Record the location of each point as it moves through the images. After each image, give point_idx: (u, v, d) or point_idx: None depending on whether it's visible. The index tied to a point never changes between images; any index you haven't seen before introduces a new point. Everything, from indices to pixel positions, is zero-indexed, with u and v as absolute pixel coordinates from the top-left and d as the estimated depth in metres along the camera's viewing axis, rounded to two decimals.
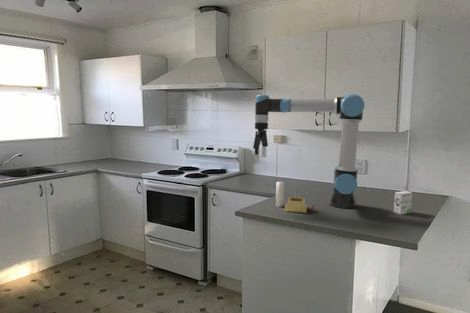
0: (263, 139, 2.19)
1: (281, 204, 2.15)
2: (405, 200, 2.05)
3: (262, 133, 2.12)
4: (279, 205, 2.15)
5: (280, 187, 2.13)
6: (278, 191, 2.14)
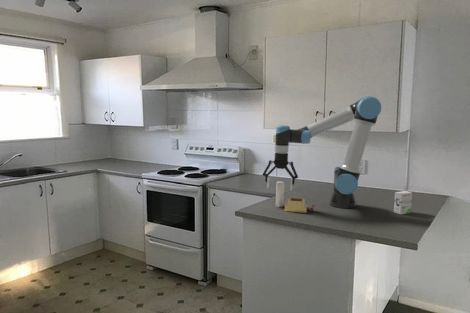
0: None
1: (281, 204, 2.15)
2: (405, 200, 2.05)
3: (277, 163, 2.13)
4: (279, 205, 2.15)
5: (280, 187, 2.13)
6: (278, 191, 2.14)
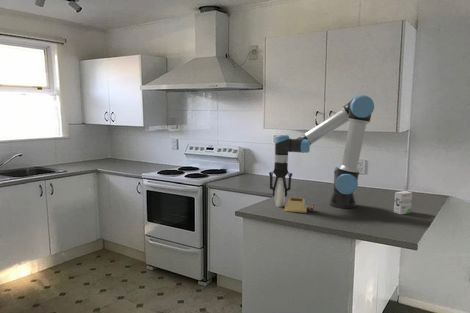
0: (283, 180, 2.14)
1: (281, 204, 2.15)
2: (405, 200, 2.05)
3: (277, 173, 2.13)
4: (279, 205, 2.15)
5: (280, 187, 2.13)
6: (278, 191, 2.14)
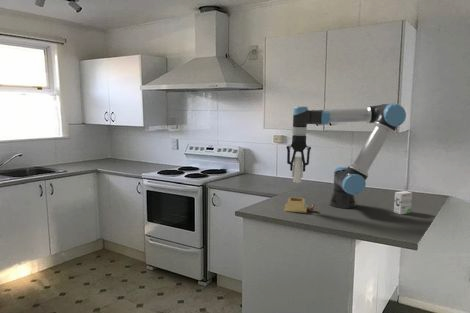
0: (301, 154, 2.04)
1: (299, 180, 2.05)
2: (405, 200, 2.05)
3: (294, 147, 2.03)
4: (297, 181, 2.04)
5: (298, 162, 2.03)
6: (296, 166, 2.04)
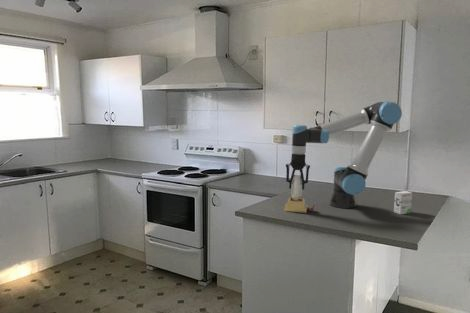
0: None
1: (298, 198, 2.06)
2: (405, 200, 2.05)
3: (294, 165, 2.04)
4: (296, 199, 2.06)
5: (297, 180, 2.04)
6: (295, 184, 2.05)
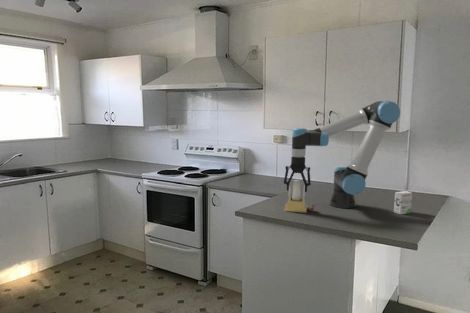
0: None
1: None
2: (405, 200, 2.05)
3: (294, 168, 2.05)
4: None
5: (297, 186, 2.05)
6: (295, 190, 2.05)
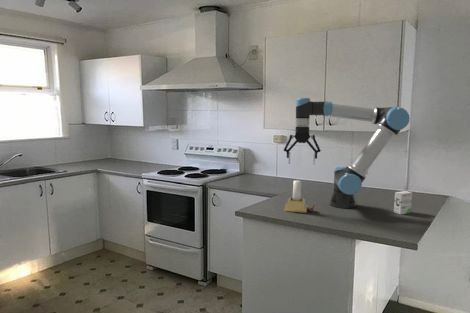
0: None
1: None
2: (405, 200, 2.05)
3: (298, 137, 2.06)
4: None
5: (297, 186, 2.05)
6: (295, 190, 2.05)
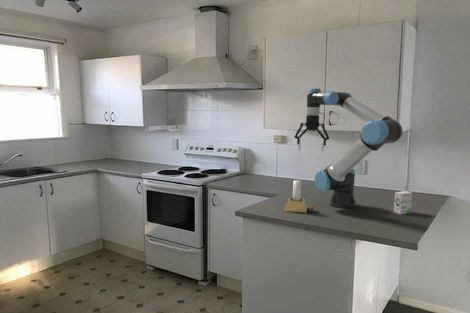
0: (318, 132, 2.20)
1: None
2: (405, 200, 2.05)
3: (308, 125, 2.20)
4: None
5: (297, 186, 2.05)
6: (295, 190, 2.05)
